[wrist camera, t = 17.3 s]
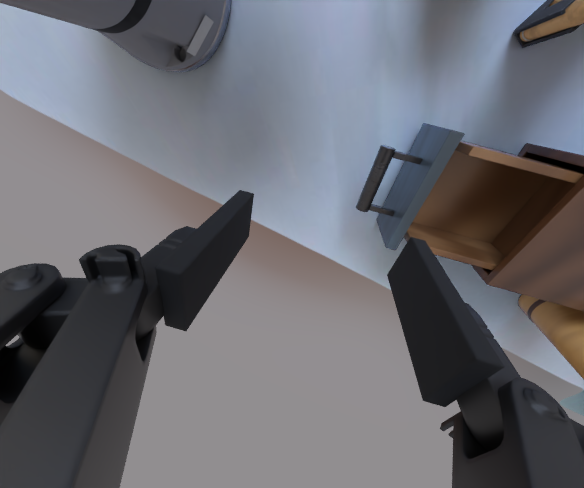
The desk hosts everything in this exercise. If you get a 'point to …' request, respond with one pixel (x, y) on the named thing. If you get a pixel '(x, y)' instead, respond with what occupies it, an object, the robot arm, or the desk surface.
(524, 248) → the cabinet
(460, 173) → the drawer
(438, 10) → the desk surface
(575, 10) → the ammunition clip
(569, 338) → the roller
